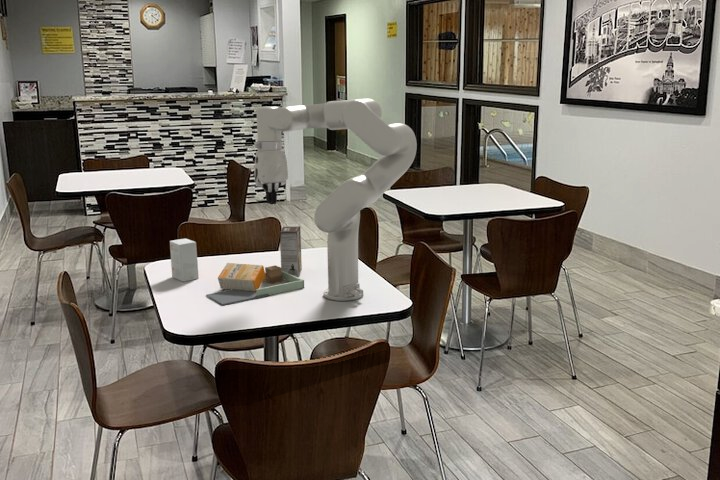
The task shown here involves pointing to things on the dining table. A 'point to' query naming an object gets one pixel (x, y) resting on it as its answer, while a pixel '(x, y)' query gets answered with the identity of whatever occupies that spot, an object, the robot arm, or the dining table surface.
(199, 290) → the dining table surface
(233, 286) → the supplement box
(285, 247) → the coffee box
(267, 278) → the walnut block
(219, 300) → the mat
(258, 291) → the tray
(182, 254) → the small box
